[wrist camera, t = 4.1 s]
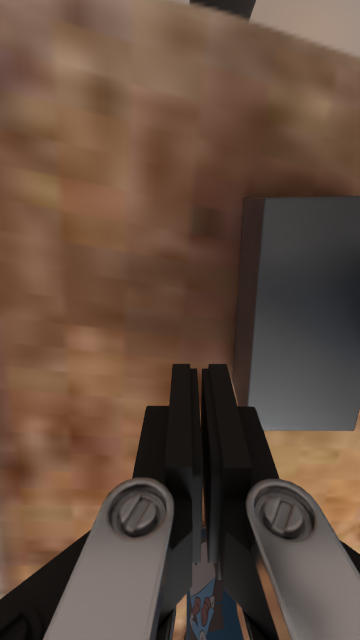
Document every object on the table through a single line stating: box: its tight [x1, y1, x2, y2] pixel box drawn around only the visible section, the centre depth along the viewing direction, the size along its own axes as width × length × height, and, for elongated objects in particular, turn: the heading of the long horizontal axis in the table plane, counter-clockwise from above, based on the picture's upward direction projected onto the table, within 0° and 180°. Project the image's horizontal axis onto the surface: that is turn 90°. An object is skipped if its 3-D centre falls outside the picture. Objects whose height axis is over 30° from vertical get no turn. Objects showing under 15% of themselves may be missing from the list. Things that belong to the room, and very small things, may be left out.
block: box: [233, 196, 360, 431], centre depth 17 cm, size 12×6×5 cm, turn 1°
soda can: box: [187, 526, 244, 640], centre depth 22 cm, size 7×7×12 cm
